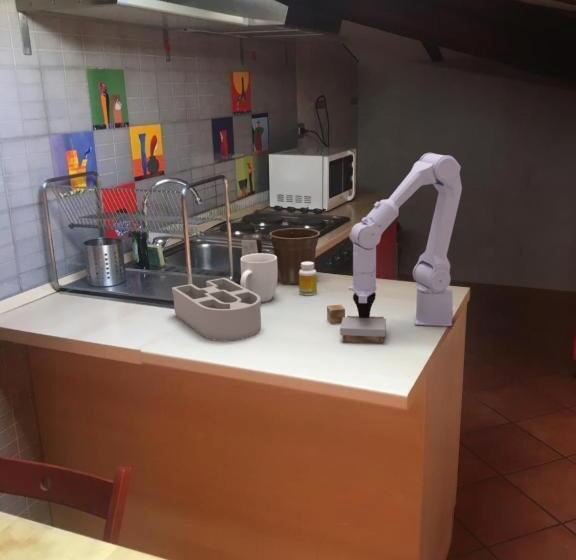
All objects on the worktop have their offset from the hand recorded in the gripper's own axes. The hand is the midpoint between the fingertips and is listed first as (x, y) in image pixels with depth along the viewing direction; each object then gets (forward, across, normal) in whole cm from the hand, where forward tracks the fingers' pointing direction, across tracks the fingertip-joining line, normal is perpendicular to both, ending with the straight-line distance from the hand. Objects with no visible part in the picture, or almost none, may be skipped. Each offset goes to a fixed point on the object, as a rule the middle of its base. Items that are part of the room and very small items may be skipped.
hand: (364, 320), depth 165 cm
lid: (+1, +5, 0) cm, 5 cm away
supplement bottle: (+3, -30, -19) cm, 36 cm away
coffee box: (+3, -38, -38) cm, 54 cm away
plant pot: (+3, -44, -25) cm, 51 cm away
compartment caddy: (+3, -2, -39) cm, 39 cm away
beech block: (+3, -6, -8) cm, 11 cm away
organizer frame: (+3, +2, 0) cm, 3 cm away
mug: (+3, -22, -33) cm, 40 cm away
